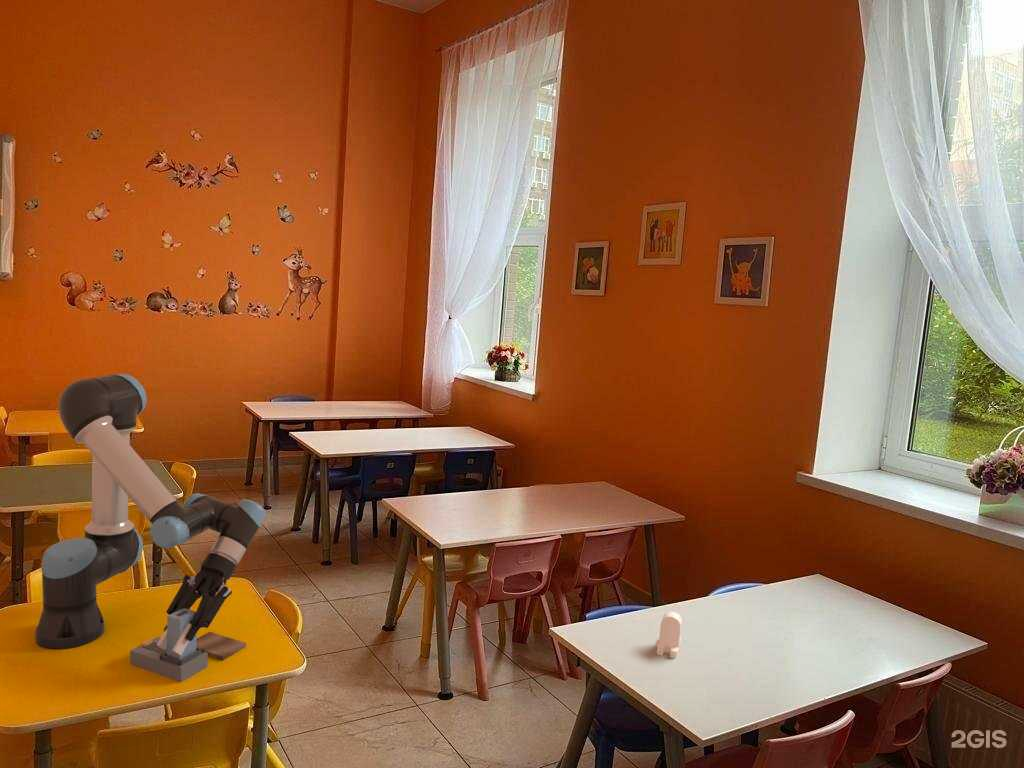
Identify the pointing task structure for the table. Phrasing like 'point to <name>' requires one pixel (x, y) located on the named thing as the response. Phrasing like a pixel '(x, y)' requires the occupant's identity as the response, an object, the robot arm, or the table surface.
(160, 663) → the grey rectangular box
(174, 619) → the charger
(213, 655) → the walnut board
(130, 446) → the robot arm
